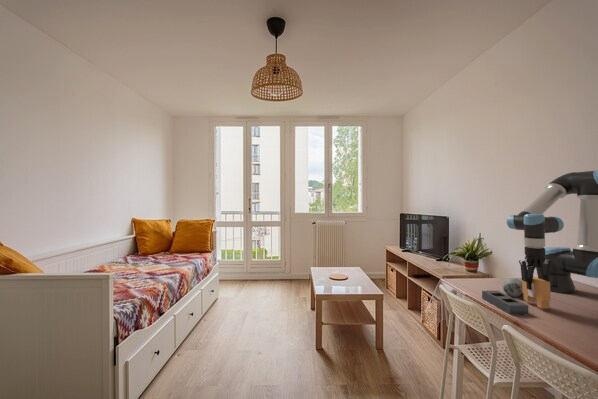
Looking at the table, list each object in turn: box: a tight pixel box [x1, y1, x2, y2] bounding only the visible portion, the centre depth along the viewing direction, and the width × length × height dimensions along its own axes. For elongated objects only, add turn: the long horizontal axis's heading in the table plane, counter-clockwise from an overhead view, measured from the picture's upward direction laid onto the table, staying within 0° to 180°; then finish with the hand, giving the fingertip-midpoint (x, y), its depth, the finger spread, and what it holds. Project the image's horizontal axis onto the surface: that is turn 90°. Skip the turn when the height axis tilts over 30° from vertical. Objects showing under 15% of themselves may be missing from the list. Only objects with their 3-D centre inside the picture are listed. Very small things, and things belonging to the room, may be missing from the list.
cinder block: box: [481, 290, 529, 316], centre depth 135 cm, size 8×20×4 cm, turn 178°
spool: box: [502, 277, 523, 298], centre depth 151 cm, size 14×10×10 cm
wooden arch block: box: [521, 275, 551, 309], centre depth 134 cm, size 4×12×12 cm, turn 178°
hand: (535, 296), depth 134 cm, fingers closed on wooden arch block, 3 cm apart
